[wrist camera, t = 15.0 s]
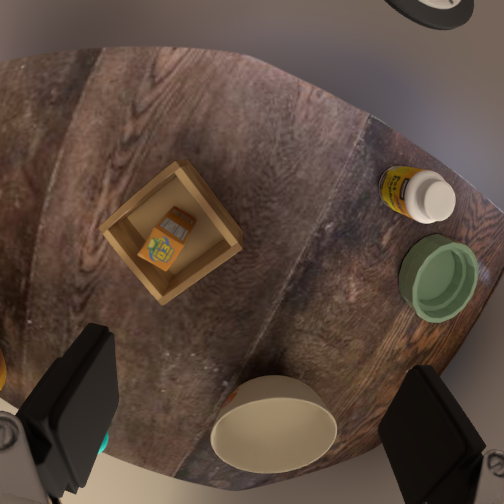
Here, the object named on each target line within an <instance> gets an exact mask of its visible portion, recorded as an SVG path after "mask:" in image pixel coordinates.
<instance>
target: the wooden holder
mask: <svg viewBox="0 0 504 504" xmlns="http://www.w3.org/2000/svg"><path fill="white" fill-rule="evenodd" d="M173 206H175V207H177V208H178V209H180V210H181V211H183V212H184V213H186V214H187V215H189V216H190V217H192V218H193V219H195V220H196V222H195V224H194V226H193V228H192V230H191V232H190V234H189V237H188V238H187V241H186V243H185V245H184V247H183V248H182V250H181V251H180V253H179V254H178V256H177V257H176V259H175V260H174V262H173V263H172V265H171V266H170V268H169V269H168V270H167V271H164V270H162V269H161V268H159V267H157V266H156V265H154V264H152V263H150V262H149V261H147V260H145V259H143V258H141V257H139V256H138V252H139V251H140V249H141V248H142V246H143V245H144V243H145V242H146V240H147V238H148V237H149V235H150V233H151V232H152V230H153V228H154V227H155V225H156V224H157V223H158V222H159V221H160V220H161V219H162V218H163V217H164V215H165V214H166V213H167V212H168V211H169V210H170V209H171V208H172V207H173ZM99 229H100V231H101V232H102V233H103V235H104V236H105V238H106V239H107V240H108V241H109V243H110V244H111V245H112V246H113V248H114V249H115V250H116V252H117V253H118V254H119V255H120V257H121V258H122V259H123V260H124V262H125V263H126V264H127V265H128V266H129V268H130V269H131V270H132V271H133V272H134V274H135V275H136V276H137V277H138V279H139V280H140V281H141V282H142V283H143V284H144V286H145V287H146V288H147V289H148V290H149V291H150V293H151V294H152V295H153V296H154V297H155V298H156V300H158V302H159V303H160V304H161V305H162V306H163V305H164V304H166V303H167V302H169V301H170V300H171V299H173V298H174V297H176V296H177V295H178V294H180V293H181V292H183V291H184V290H185V289H187V288H188V287H190V286H191V285H192V284H194V283H195V282H197V281H198V280H200V279H201V278H202V277H204V276H205V275H207V274H208V273H209V272H211V271H212V270H214V269H215V268H216V267H218V266H219V265H221V264H222V263H223V262H225V261H226V260H228V259H229V258H231V257H232V256H233V255H235V254H236V253H238V252H239V251H240V250H242V249H243V231H242V230H241V228H240V227H239V226H238V224H237V223H236V222H235V220H234V219H233V218H232V216H231V215H230V214H229V213H228V211H227V210H226V209H225V207H224V206H223V205H222V203H221V202H220V201H219V199H218V198H217V197H216V195H215V194H214V193H213V191H212V190H211V189H210V188H209V186H208V185H207V184H206V182H205V181H204V180H203V178H202V177H201V176H200V174H199V173H198V172H197V170H196V169H195V168H194V167H193V165H192V164H191V163H190V161H189V160H188V159H185V160H176V161H174V162H173V163H171V164H170V165H169V166H168V167H167V168H165V169H164V170H163V171H162V172H160V173H159V174H158V175H157V176H156V177H154V178H153V179H152V180H151V181H150V182H148V183H147V184H146V185H145V186H144V187H143V188H141V189H140V190H139V191H138V192H137V193H136V194H135V195H133V196H132V197H131V198H130V199H129V200H128V201H127V202H125V203H124V204H123V205H122V206H121V207H120V208H119V209H118V210H117V211H115V212H114V213H113V214H112V215H111V216H110V217H109V218H108V219H107V220H106V221H105V222H104V223H103V224H101V225H100V226H99Z"/></svg>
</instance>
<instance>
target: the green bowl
mask: <svg viewBox="0 0 504 504" xmlns="http://www.w3.org/2000/svg"><path fill="white" fill-rule="evenodd" d="M477 281H478V264H477V260H476V257H475V254H474V253H473V252H472V251H471V250H470V249H469V248H468V247H467V246H466V245H465V244H463V243H461V242H459V241H457V240H455V239H453V238H451V237H449V236H445V235H441V234H435V235H431V236H427V237H424V238H423V239H422V240H420V241H419V242H418V243H416V244H415V245H414V246H413V247H412V248H411V249H410V251H409V252H408V254H407V255H406V257H405V258H404V260H403V263H402V266H401V270H400V273H399V290H400V293H401V295H402V297H403V299H404V301H405V302H406V303H407V304H408V305H409V306H410V307H411V308H412V309H413V310H414V311H415V313H416V314H417V315H418V316H420V317H421V318H423V319H424V320H426V321H427V322H438V323H440V322H443V321H445V320H448V319H451V318H453V317H454V316H455V315H456V314H458V313H459V312H460V311H461V310H462V309H463V308H464V307H465V306H466V304H467V303H468V302H469V300H470V299H471V297H472V295H473V293H474V290H475V287H476V284H477Z"/></svg>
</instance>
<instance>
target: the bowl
mask: <svg viewBox="0 0 504 504" xmlns="http://www.w3.org/2000/svg"><path fill="white" fill-rule="evenodd" d="M336 434H337V425H336V422H335V419H334V417H333V416H332V414H331V413H330V411H329V410H328V408H327V407H326V405H325V404H324V403H323V401H322V400H321V399H320V397H319V396H318V395H317V394H316V392H315V391H314V390H313V389H311V388H310V387H309V386H308V385H306V384H305V383H303V382H301V381H299V380H297V379H294V378H291V377H287V376H281V375H268V376H262V377H258V378H254V379H252V380H249V381H247V382H245V383H243V384H242V385H240V386H239V387H237V388H236V389H235V390H234V391H233V392H232V393H231V394H230V395H229V396H228V398H227V399H226V400H225V402H224V404H223V406H222V408H221V410H220V412H219V414H218V416H217V419H216V421H215V424H214V426H213V428H212V432H211V444H212V447H213V449H214V451H215V453H216V454H217V455H218V456H219V457H220V458H221V459H222V460H223V461H225V462H226V463H228V464H230V465H232V466H234V467H236V468H239V469H242V470H245V471H250V472H256V473H279V472H286V471H290V470H294V469H298V468H300V467H303V466H306V465H308V464H310V463H312V462H314V461H315V460H317V459H318V458H320V457H321V456H322V455H323V454H325V453H326V452H327V451H328V449H329V448H330V447H331V446H332V444H333V442H334V440H335V438H336Z"/></svg>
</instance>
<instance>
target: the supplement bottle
mask: <svg viewBox="0 0 504 504" xmlns="http://www.w3.org/2000/svg"><path fill="white" fill-rule="evenodd" d="M379 194H380V197H381V199H382V201H383V202H384V204H385V205H386V206H387V207H389V208H390V209H392V210H395V211H397V212H399V213H401V214H403V215H405V216H407V217H410V218H412V219H414V220H416V221H418V222H421V223H426V224H427V223H433V222H435V221H443V220H445V219H447V218H448V217H449V216H450V215H451V213H452V212H453V210H454V207H455V193H454V191H453V189H452V187H451V186H450V185H449V184H448V183H447V182H445V180H444V179H443V177H442V176H441V175H439V174H438V173H436V172H434V171H430V170H425V169H419V168H412V167H406V166H393V167H391V168H389V169H387V170H386V171H385V172H384V173H383V175H382V177H381V179H380V182H379Z"/></svg>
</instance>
